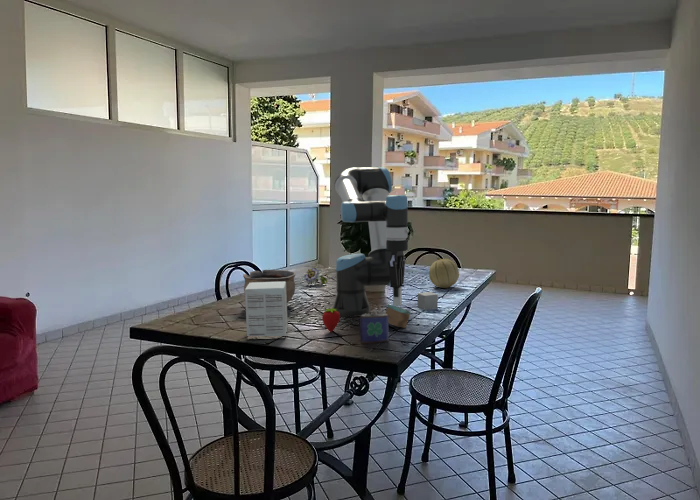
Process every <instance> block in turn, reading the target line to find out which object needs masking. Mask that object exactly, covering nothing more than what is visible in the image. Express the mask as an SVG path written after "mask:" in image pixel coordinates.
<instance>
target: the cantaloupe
mask: <svg viewBox="0 0 700 500" xmlns="http://www.w3.org/2000/svg"><path fill="white" fill-rule="evenodd" d="M436 259H437V260H435V261H434V262H432V263H431V265H430V267H429V269H428V277H429V280H430V281H431V283H432V284H433V285H434V286H435V287H436V288H437V287H438V288H441V289H448V288H450V287H452V286H454V285H455V284H456V283H457V282H458V280H459V277H460V270H459V268H458V266H457V264H456V263H455V262H454V261H453V260H451V259H448V258H439V257H438V258H436Z"/></svg>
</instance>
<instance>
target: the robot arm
mask: <svg viewBox="0 0 700 500" xmlns="http://www.w3.org/2000/svg"><path fill="white" fill-rule="evenodd" d="M333 184H334V191H335V192H336V193H337V195H338V196H339V197H340V200H341V201H342V202H341V204H340V217H341V218H340V219H341V221H342V222H343V223H363V222H364V223H365V222H366V223H367V222H368V230H369V239H370V248H371V251H369V253H368V256H366V255H365V253H353V254H346V255H343V256H340V257H338V258H337V260H336V263H335V272H336V277H335V279H336V282H335V283H336V295H335V298H334V302H333V305H332V308H333V309H337V310H336V311H338V312H339V313H340V317H358V316H359V317H360V316H361V315H364V314H365V313H366V314H367V315H369V314H371V306H370V302H369V298H368V297H367V294H366V287H373V286H375V287H376V286H379V287H380V286H389V287H390V288H392V306H396V307H401V306H403V305H402V301H403V300H402V297H403V294H402V290H403V289H402V288H403V287H404V288H405V284H404V283H405V268H406V261H407V260H406V259H407V257H406V256H405V255H404V252H406V251H408V248H409V246H408V245H409V241H408V238H409V237H408V234H409V232H410V230H409V229H408V227H409V226H408V220H409V219H408V218H409V217H408V214H409V213H408V207H409V204H408V202H409V201H408V196H407V195H405V194H404V195H403V194H401V195H399V194H397V195H393V194H392V195H390V194H391V192H392V189H393V188H392V187H393V184H392V176H391V173H390V171H389V169H388V168H387V167H384V166H382V167H381V166H371V167H368V166H366V167H361V166H360V167H359V166H357V167H356V166H355V167H353V166H352V167H349V168H346V169H344V170H342V171H341V172H340V173H338V175H337V176H336V178H335V180H334V183H333ZM368 313H369V314H368Z"/></svg>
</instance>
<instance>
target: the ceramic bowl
mask: <svg viewBox="0 0 700 500" xmlns="http://www.w3.org/2000/svg"><path fill="white" fill-rule="evenodd" d="M295 276H296V272H294V271H289V270H287V269H286V270H282V269H263V270H262V271H259V270H253V271H250V272H249V275H248V274H247V273H244V274H243V275H242V277H243V279H244V285H243V292H244V293H245V289H246V287H247V286H248V284H249V283H252V282H283V281H285V282H286V295H287V304H288V303H289V302H290V301H291V300H292V298H293V297H294V295H295V293H296V292H295V291H296V282H295Z"/></svg>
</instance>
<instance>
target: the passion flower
mask: <svg viewBox="0 0 700 500" xmlns="http://www.w3.org/2000/svg"><path fill="white" fill-rule="evenodd" d="M322 272H323V269H318V266H314V267H313V268H311V269H308V270H306V272H305V273H306V274H304V277H302V278H301V280H302V281H303V280H305V281H306V283H308V284H307V285H309V284H312V285H316V284H317V283H318V282H319V280H320V282H321V283H322V284H321V285H323V284H325V285H326V284H328V279H327V278H329V275H328V273H324V274H323V273H322ZM325 275H326V277H327V278H326V277H324V276H325Z"/></svg>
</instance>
